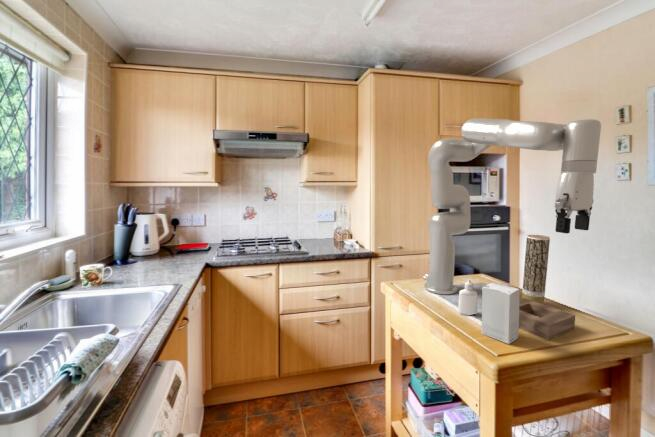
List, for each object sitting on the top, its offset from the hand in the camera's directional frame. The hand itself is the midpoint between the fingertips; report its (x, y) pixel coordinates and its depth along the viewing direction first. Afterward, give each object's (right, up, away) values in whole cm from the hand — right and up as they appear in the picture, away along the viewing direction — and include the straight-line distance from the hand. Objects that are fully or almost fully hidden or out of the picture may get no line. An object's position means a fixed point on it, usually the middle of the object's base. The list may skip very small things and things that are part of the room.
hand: (572, 231), depth 89 cm
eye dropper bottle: (-20, -29, +21) cm, 41 cm away
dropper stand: (-2, -30, +13) cm, 33 cm away
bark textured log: (+7, -28, +28) cm, 40 cm away
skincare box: (-17, -31, +5) cm, 36 cm away
